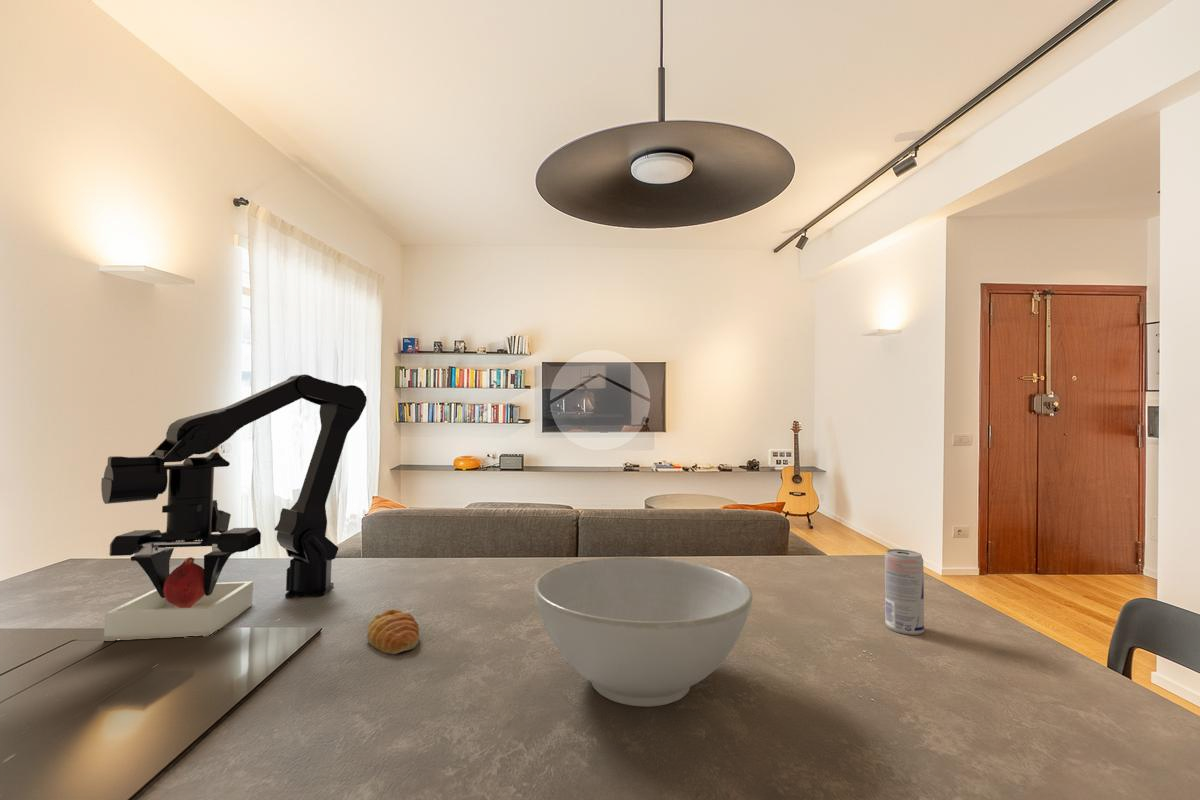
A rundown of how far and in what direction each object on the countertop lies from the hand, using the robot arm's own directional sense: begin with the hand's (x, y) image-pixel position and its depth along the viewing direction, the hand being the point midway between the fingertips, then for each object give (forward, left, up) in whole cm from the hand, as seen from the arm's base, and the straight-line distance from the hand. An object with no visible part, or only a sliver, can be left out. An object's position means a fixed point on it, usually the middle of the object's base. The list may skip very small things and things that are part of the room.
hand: (186, 596), depth 84 cm
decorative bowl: (-66, +30, -4) cm, 73 cm away
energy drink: (-112, +20, -4) cm, 114 cm away
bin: (0, 0, -4) cm, 4 cm away
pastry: (-34, +13, -4) cm, 36 cm away
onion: (0, 0, -2) cm, 2 cm away
